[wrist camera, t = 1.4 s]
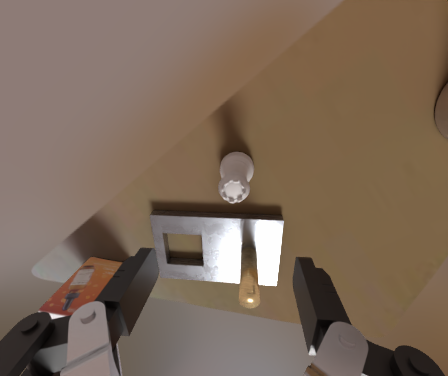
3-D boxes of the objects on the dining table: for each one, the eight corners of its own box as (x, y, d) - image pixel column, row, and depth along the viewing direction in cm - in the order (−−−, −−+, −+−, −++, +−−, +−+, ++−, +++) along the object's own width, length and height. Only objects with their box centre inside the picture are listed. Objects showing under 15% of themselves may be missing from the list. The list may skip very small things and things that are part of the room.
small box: (133, 262, 37) (94, 321, 28) (135, 286, 40) (100, 347, 30) (89, 255, 38) (35, 310, 28) (94, 279, 40) (45, 337, 30)
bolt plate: (282, 215, 31) (295, 262, 22) (275, 278, 35) (284, 337, 27) (153, 210, 33) (119, 251, 24) (163, 270, 37) (138, 324, 29)
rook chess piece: (214, 158, 28) (203, 180, 21) (246, 145, 27) (245, 163, 20) (228, 187, 30) (222, 217, 23) (259, 175, 29) (262, 203, 21)
